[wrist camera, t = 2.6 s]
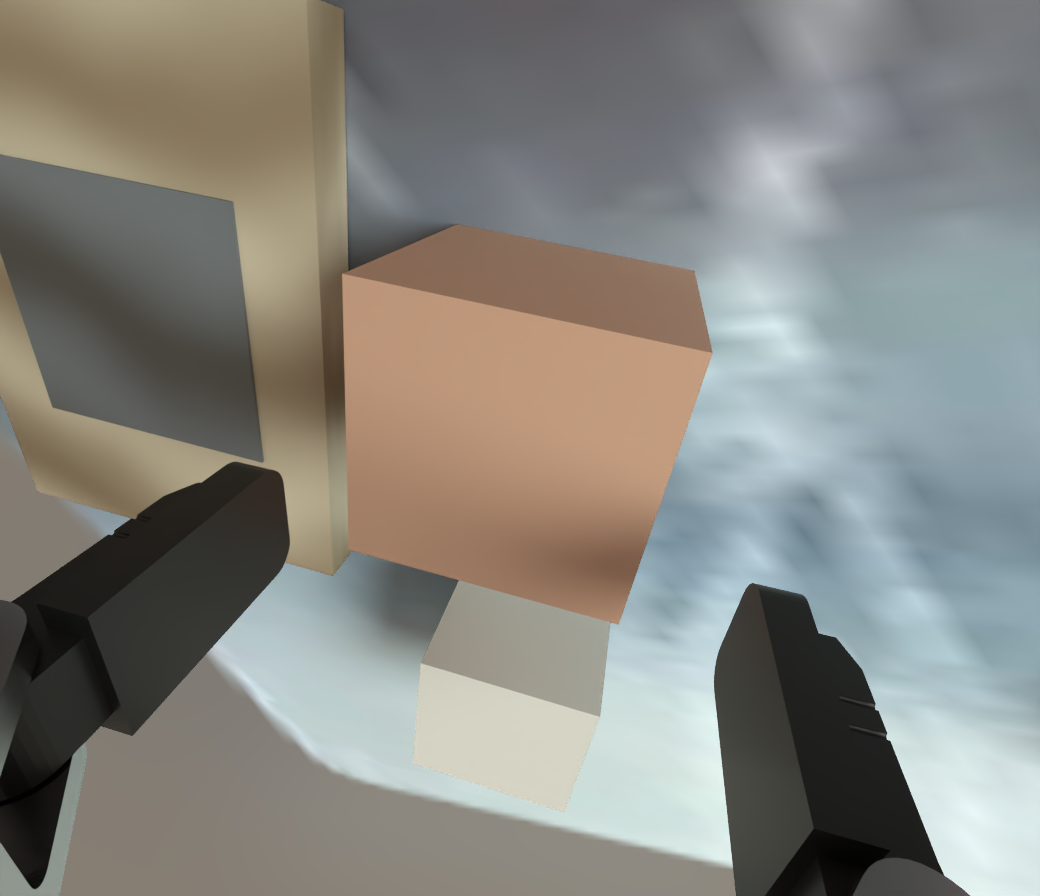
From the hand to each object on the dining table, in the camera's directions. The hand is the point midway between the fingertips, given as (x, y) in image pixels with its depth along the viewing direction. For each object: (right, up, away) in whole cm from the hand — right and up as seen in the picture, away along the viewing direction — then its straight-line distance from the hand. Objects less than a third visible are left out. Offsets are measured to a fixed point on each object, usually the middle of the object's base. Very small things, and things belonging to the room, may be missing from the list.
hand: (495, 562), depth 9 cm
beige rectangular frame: (-10, +6, +8) cm, 14 cm away
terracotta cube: (+1, +4, +6) cm, 7 cm away
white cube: (+1, -4, +11) cm, 12 cm away
